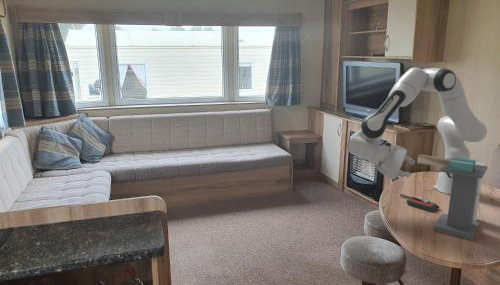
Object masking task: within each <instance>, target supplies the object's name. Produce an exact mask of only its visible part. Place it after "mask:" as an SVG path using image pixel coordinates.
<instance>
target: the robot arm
mask: <svg viewBox="0 0 500 285" xmlns="http://www.w3.org/2000/svg"><path fill="white" fill-rule="evenodd" d="M463 86H464V85H463V84H462V81H461V79H460V78H459V76H458V75H457V74H456V73H454V71H453V70H451V69H448V68H439V67H429V68H423V67H422V68H421V67H416V66H415V67H411V68H409V69H408V70H407V71H406V72H404V73H403V74H402V75H401V76H400V78H399V79H397V81H396V82H395V83H394V85H393V86H392V88H391V89H390V91H389V93H388V95H387V98H386V99H385V101H383V103H382V104H381V105H380V106H379V108H378V109H377V110H376V111H374V112H373V113H372V114H370V115H368V116H366V117H364V119H363V120H362V121H361V125H360V126H361V128H360V129H359V130H358V131H356V132H355V133H354V134H352V135H350V136H349V138H348V142H347V145H346V146H347V150H348V152H349V153H350V154H352V155H353V156H356V157H358V158H360V159H363V160H366V161H368V162H369V163H371V164H373V165H376V169H377V171H378V172H379V173H381V175H383V176H385V177H387V178H389V179H391V180H396V179H397V177H398V176H399V177H406V178H410V176H411V172H410V171H403V170H402V169H401V168H402V166H403V163H404V161H405V162H408V163H409V165H411V166H414V165H415V162H416V160H414V159H412V158H411V157H410V156H409V155H407V153H408V150H407V149H406V148H404V147H402V146H400V145H398V144H393V142H390V141H386V142H385V143H384V144H382V145H381V144H379V142H380V141H381V140H382V138H383V136H384V133H385V131H386V128H387V123H388V121H389V119H390V118H392V116H393V115H394V114H395V112H396V111H397V110H398V109H399V108H400V107H402V108H403V107H404V108H405V107H407V106H408V105H410V104H411V103H412V102H413V101H414V100H415V99H416V98H417V96H418V95H419V94H420V92H421V91H424V92H429V93H431V92H437V94H438V98H439V102H440V106H441V109H442V111H443V113H444V114H445V115H446V116H443V117H441V118H440V119H439V120H438V122H437V125H436V126H437V127H436V128H437V131H438V133H439V134H440V135H441V137H442V140H443V143H444V148H445V150H444V152H445V153H444V158H447V159H452V158H453V157H458V158H465V159H471V157H470V156H471V152H470V149H468V147H467V146H466V144H465V142H468V143H480V142H481V141H483V140H484V139H485V138H486V136H487V132H488V129H487V126H486V124H485V123H484V122H482V121H481V120H480V119H478V117H476V115H475V114H474V112H473V111H472V109H471V107H470V106H469V104H468V100H467V96H466V93H465V90H464V87H463ZM452 180H453V174H452V173H446V172H439V173H438V177H437V181H436V184H433V186H432V188H434V189H436V190H438V191H439V192H441V193H443V194H447V195H451V188H452Z"/></svg>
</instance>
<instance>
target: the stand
mask: <svg viewBox="0 0 500 285" xmlns="http://www.w3.org/2000/svg"><path fill="white" fill-rule="evenodd" d="M487 170H488V166H487V165H484V166H481V165H475V169H474V171H473V172H472V174H471V173H465V172H459V171H453V170H448V168H445V167H440V172H439V173H441V172H446V173H452V174H453V180H452V188H451V195H450V194H449V195H450V196H449V204H448V212H447V214H446V213H444V212H443V213H441V215H440V216H439V217H438V218H437V220H436V221H435V223H434V224H433V231H434V232H438V233H440V234H441V233H442V234H446V235H450V236H453V237H456V238H457V237H458V238H461V239H465V240H468V241H473V240H474V237H475V236H476V234H477V231H478V228H479V225H480V222H479V221H478V220H476V221H473V215H474V208H475V201H476V194H477V188H478V181H479V178H481V179H482V180H483V177H484V175H485V174H486V172H487Z"/></svg>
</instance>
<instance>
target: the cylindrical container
mask: <svg viewBox="0 0 500 285" xmlns="http://www.w3.org/2000/svg"><path fill="white" fill-rule="evenodd" d="M475 165H481V166H485V164H484V163H483V162H479V161H476V163H475ZM482 182H483V178H482V179H481V178H479V181H478V188H477V194H476V201H475V208H474V215H473V221H477V215H478V208H479V202H480V196H481V188H482V184H483V183H482Z"/></svg>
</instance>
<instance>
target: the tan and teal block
mask: <svg viewBox="0 0 500 285" xmlns="http://www.w3.org/2000/svg"><path fill="white" fill-rule="evenodd" d="M476 162H477V160H476V159H471V158H469V159H465V158H458V157H453V158H452V159H447V158H445V157H440V156H432V155H427V154H419V155H417V162H416V163H417V164H422V165H428V166H435V167H439V168H442V167H445V168H448V170H453V171H459V172H465V173H471V174H472V172H473V171H474V169H475V163H476Z"/></svg>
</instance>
